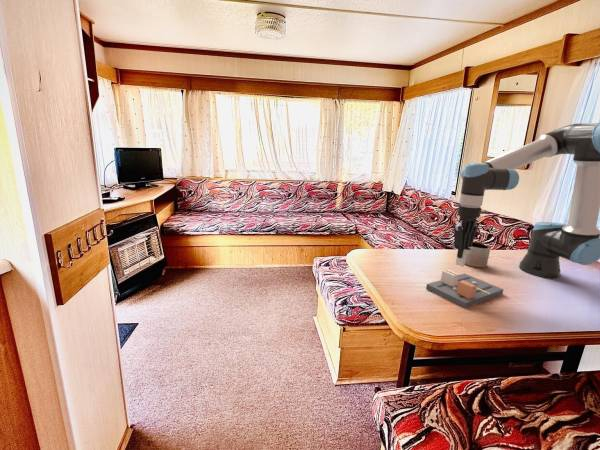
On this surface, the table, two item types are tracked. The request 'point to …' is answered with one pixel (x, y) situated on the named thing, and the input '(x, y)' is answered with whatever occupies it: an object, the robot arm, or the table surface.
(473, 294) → the block
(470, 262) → the planter
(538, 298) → the table surface
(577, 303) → the table surface
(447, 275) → the block
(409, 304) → the table surface
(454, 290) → the grey slider base plate
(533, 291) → the table surface
